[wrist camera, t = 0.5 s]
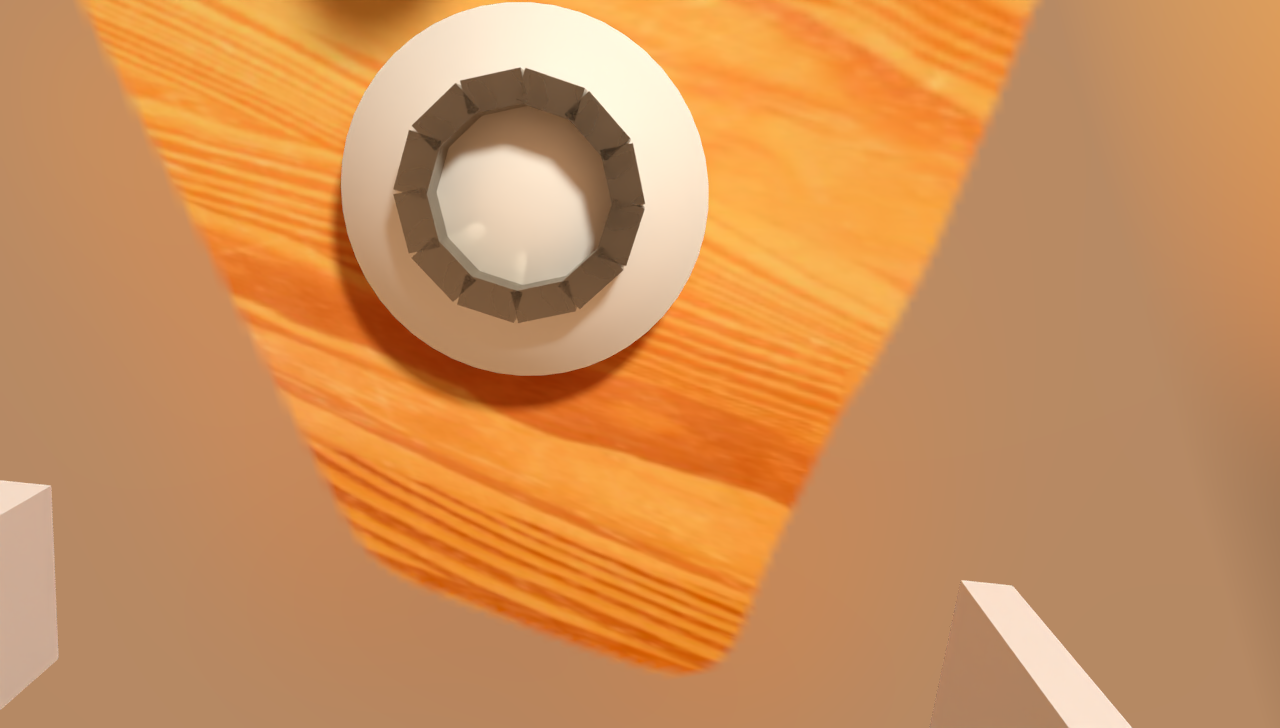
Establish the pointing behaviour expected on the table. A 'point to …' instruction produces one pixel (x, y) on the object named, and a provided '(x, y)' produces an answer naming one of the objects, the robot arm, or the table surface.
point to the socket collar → (425, 214)
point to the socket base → (527, 187)
